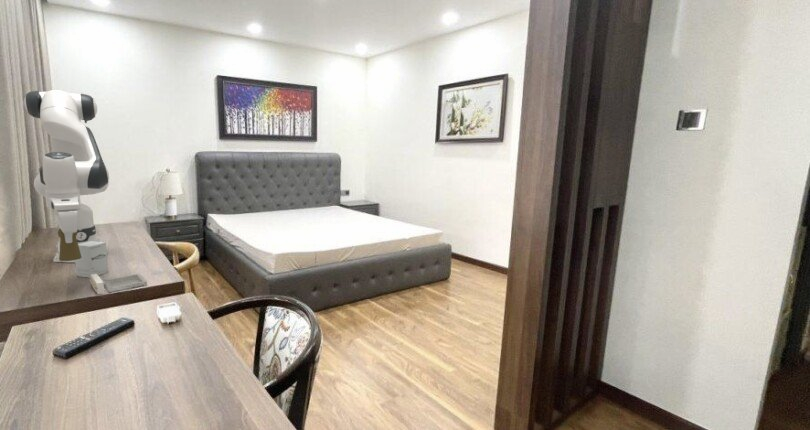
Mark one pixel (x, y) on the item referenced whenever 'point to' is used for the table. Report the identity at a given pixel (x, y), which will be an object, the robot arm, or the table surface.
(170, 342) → the table surface
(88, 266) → the supplement box
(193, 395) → the table surface
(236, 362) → the table surface
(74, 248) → the cork
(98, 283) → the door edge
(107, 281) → the grey square tray
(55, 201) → the robot arm
